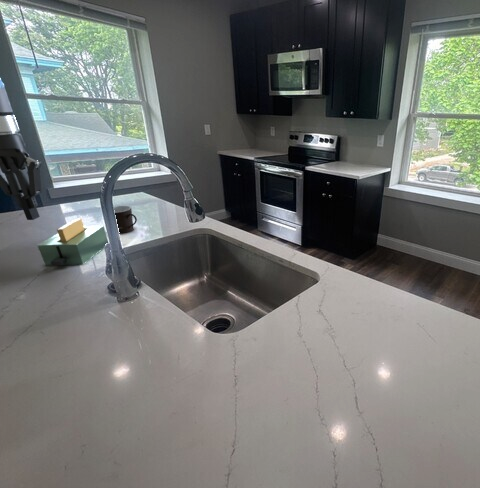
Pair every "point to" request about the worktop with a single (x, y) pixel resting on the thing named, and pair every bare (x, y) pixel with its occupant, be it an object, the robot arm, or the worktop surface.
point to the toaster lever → (58, 261)
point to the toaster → (75, 246)
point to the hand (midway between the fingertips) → (33, 218)
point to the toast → (70, 230)
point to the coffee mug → (124, 219)
